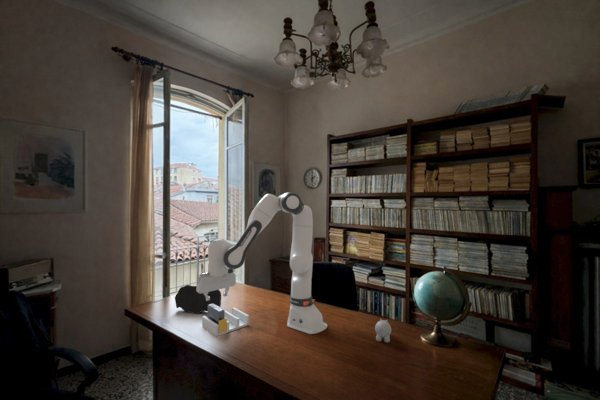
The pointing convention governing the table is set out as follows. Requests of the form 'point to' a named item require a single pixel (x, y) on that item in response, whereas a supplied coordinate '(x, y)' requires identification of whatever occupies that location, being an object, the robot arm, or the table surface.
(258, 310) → the table surface
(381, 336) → the toy rhinoceros
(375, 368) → the table surface
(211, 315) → the blanking panel
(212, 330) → the rack
